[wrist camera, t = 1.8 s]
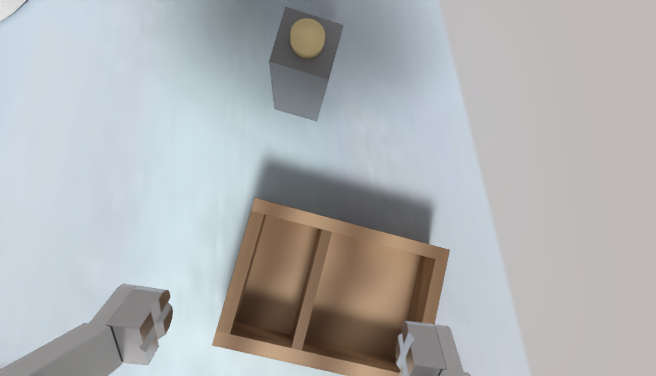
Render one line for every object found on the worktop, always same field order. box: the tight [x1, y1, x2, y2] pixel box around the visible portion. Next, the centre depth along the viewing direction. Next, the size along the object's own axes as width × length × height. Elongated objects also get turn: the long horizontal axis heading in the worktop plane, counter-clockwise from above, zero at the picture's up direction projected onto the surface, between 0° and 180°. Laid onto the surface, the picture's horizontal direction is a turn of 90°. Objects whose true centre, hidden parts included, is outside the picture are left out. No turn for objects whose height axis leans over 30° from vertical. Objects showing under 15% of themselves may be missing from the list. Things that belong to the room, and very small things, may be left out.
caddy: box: [212, 198, 450, 376], centre depth 27 cm, size 16×11×4 cm
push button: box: [269, 7, 343, 121], centre depth 26 cm, size 4×4×10 cm
